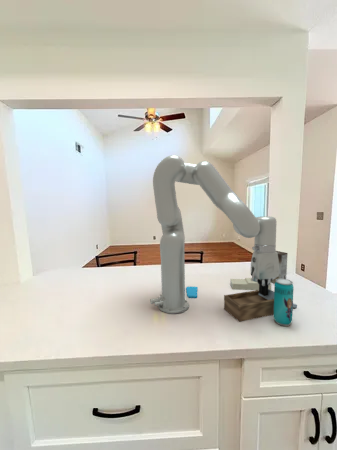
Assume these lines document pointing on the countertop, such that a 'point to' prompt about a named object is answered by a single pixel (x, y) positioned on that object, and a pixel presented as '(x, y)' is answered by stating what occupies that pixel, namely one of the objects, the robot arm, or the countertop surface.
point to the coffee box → (281, 266)
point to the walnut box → (248, 305)
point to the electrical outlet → (245, 284)
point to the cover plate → (272, 296)
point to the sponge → (191, 292)
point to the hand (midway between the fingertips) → (263, 294)
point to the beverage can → (283, 302)
